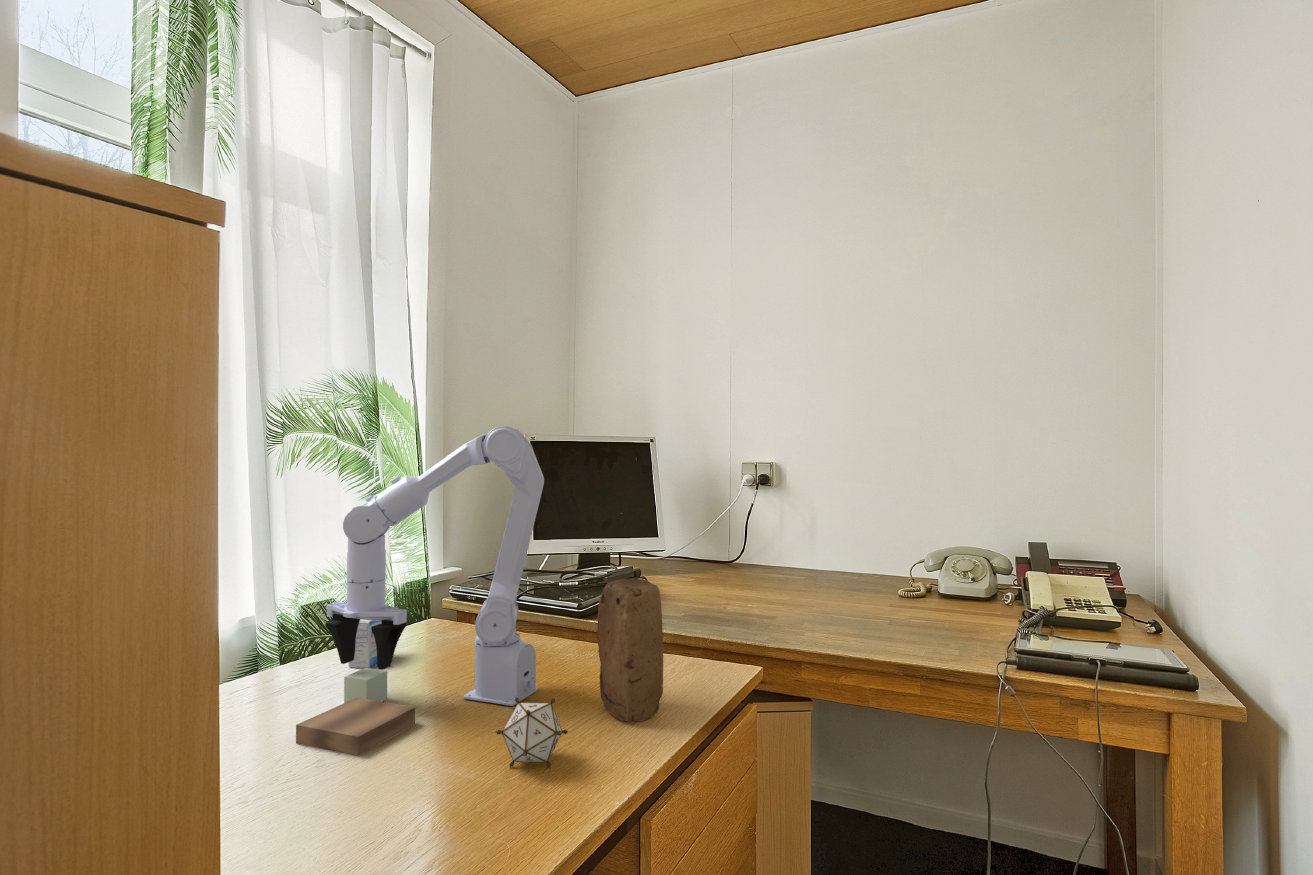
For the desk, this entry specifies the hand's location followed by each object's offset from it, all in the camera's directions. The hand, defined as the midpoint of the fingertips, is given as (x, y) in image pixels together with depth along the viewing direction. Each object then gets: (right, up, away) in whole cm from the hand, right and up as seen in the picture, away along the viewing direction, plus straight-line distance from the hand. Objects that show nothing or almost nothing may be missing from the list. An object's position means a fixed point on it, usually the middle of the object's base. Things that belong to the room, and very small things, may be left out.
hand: (365, 664), depth 110 cm
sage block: (0, -6, 0) cm, 6 cm away
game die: (+31, -6, -21) cm, 38 cm away
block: (+42, -6, -4) cm, 43 cm away
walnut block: (+4, -6, -12) cm, 14 cm away
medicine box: (-7, -6, +20) cm, 22 cm away
